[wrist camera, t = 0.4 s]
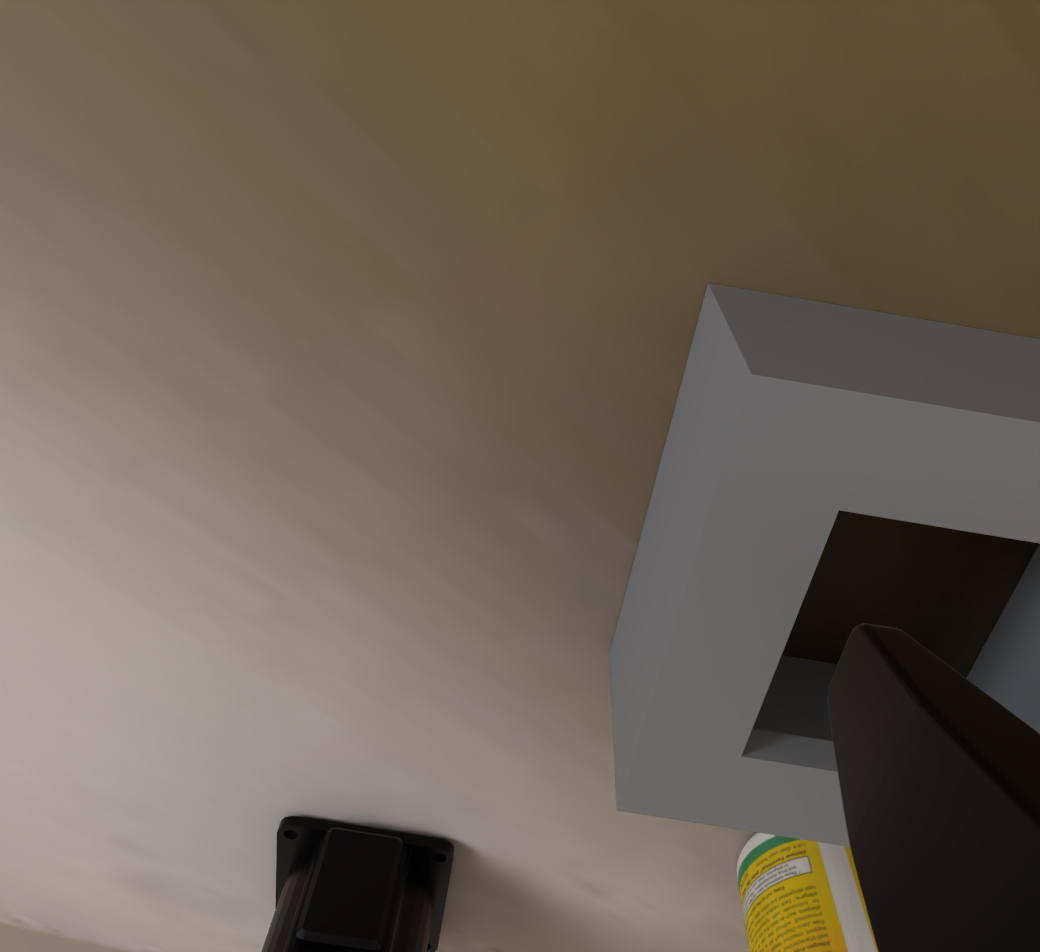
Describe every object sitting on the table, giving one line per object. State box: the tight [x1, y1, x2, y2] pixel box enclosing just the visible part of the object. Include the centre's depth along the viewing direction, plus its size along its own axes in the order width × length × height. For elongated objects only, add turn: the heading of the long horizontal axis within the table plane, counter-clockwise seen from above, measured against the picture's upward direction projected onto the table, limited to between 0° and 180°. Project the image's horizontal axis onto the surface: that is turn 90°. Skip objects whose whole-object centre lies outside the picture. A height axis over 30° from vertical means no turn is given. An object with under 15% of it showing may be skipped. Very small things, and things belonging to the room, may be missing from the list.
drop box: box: [609, 283, 1040, 847], centre depth 21 cm, size 12×12×6 cm
